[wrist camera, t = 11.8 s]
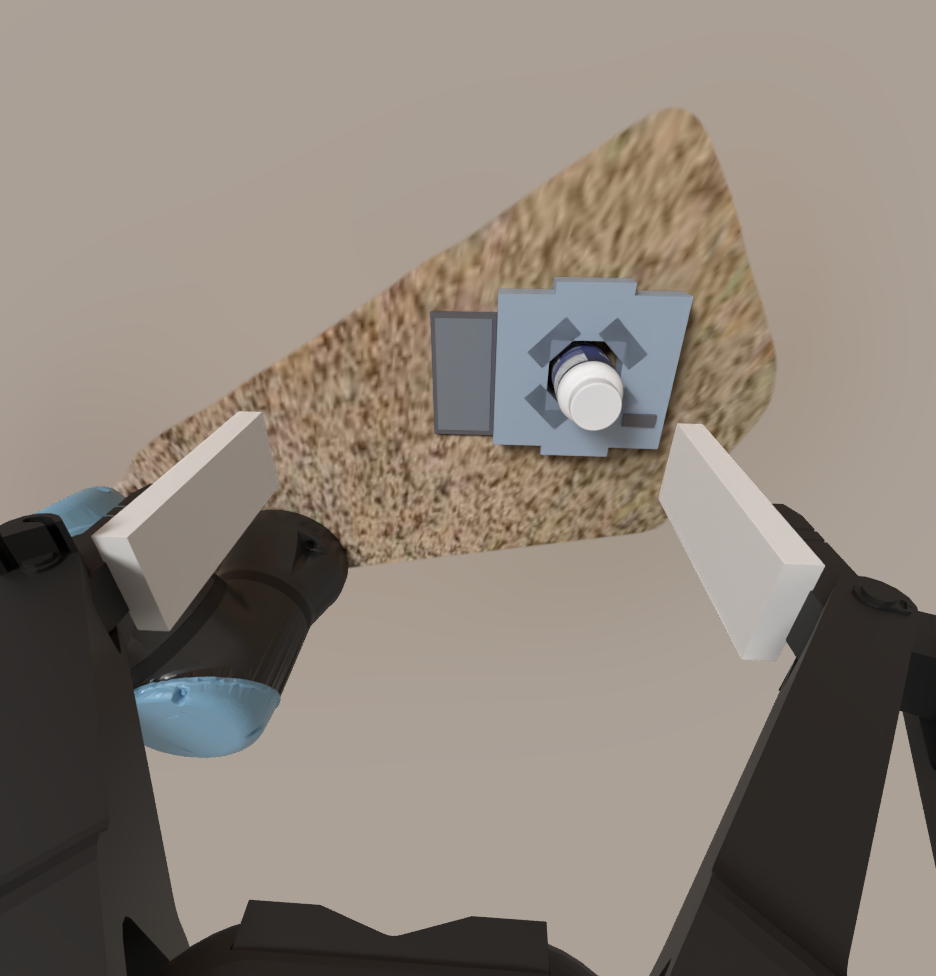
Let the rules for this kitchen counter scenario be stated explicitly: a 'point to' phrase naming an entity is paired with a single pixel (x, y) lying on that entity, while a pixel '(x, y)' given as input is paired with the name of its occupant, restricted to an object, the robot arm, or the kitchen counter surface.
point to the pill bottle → (587, 386)
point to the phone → (463, 371)
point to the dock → (586, 317)
